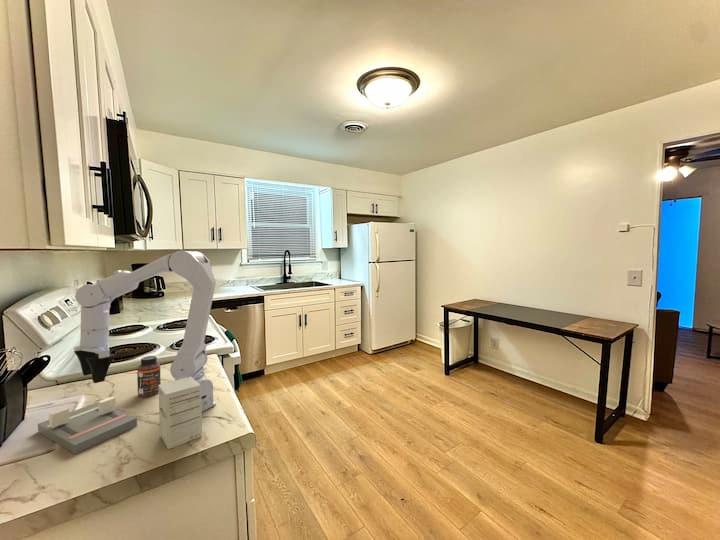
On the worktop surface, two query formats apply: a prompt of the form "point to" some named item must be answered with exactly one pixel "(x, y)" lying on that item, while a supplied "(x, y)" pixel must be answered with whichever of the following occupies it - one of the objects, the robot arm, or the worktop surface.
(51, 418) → the block
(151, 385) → the supplement bottle
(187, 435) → the supplement box
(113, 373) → the worktop surface
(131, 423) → the board
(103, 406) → the block
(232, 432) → the worktop surface
